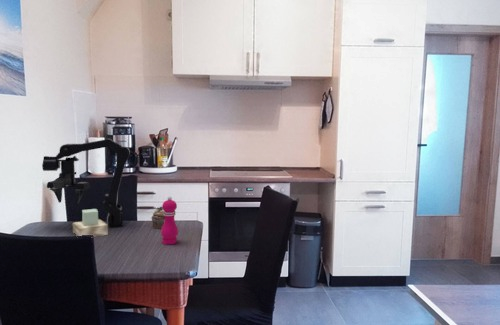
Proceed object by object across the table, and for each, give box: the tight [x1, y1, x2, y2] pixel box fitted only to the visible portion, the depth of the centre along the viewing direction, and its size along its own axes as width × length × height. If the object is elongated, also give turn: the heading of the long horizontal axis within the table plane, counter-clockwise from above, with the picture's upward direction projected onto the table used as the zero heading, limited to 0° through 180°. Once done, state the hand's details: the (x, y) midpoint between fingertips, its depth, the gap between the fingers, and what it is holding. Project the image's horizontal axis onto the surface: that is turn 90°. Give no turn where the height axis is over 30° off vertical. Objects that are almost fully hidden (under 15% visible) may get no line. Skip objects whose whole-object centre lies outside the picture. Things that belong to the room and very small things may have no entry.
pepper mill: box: [160, 196, 179, 245], centre depth 161 cm, size 7×7×20 cm
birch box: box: [72, 218, 109, 238], centre depth 172 cm, size 12×12×5 cm
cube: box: [81, 208, 99, 226], centre depth 171 cm, size 6×6×6 cm
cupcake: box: [151, 206, 165, 230], centre depth 185 cm, size 10×10×10 cm
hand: (68, 202), depth 179 cm, fingers open, 9 cm apart
